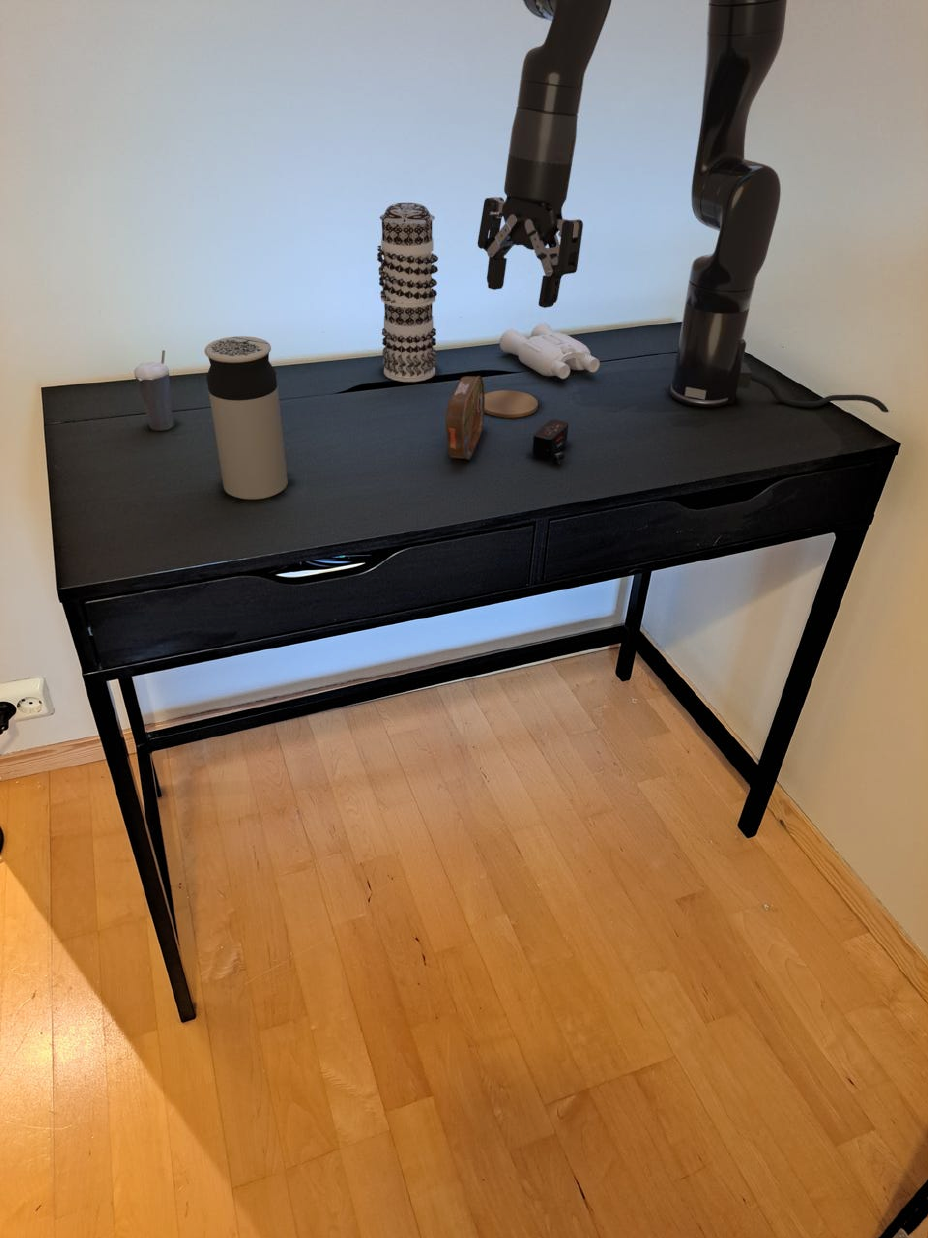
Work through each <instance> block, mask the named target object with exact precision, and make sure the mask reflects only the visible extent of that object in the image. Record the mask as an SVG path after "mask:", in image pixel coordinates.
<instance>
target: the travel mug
mask: <svg viewBox="0 0 928 1238" xmlns="http://www.w3.org/2000/svg"><path fill="white" fill-rule="evenodd" d="M203 350H204V351H203V352H204V355H205V356H206V357H207V358H208V361H209V368H208V371H207V374H206V377H205V378H206V384H207V390H208V397H209V402H210V408H211V415H212V422H213V429H214V433H215V434H214V435H215V440H216V447H217V453H218V459H219V465H220V472H221V478H222V485H223V490H224V491H225V493H226V494H228V495H229V496H232V497H234V498H237V499H241V500H262V499H263V500H264V499H268V498H270V497H273V496H275V495H277V494H279V493H281V492H282V491H284V490H285V489H286V488H287V487H288V483H289V478H288V471H287V462H286V452H285V451H286V450H285V443H284V442H285V441H284V433H283V426H282V425H283V424H282V417H281V416H282V415H281V406H280V399H279V398H280V397H279V389H278V380H277V372H276V370H275V368H274V367H273V365H272V364H271V362H270V361H269V359H270V353H271V351H272V345H271V344H270V343H269V341H267V340H265V339H262V338H260V337H255V336H246V335H245V336H244V335H239V336H228V337H222V338H219V339H216V340H213V341H211V342H210V343H208V344H207V345H206V346H205V347H204V349H203Z"/></svg>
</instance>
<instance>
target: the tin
mask: <svg viewBox="0 0 928 1238" xmlns="http://www.w3.org/2000/svg"><path fill="white" fill-rule="evenodd" d="M484 394H485V385H484V380H483V377H482V376H481V375H477V376H468V375H467V376H462V377H461V378H460V379H459V380H458V383H457V384H456V386H455V388H454V390H453V392H452V395H450V396H451V397H450V398H449V400H448V403H447V407H446V412H445V413H446V414H445V431H446V441H447V442H446V444H447V447H446V451H447V455H448V456H449V458H451V459H462V460H467V461H469V460H471V458H472V456H473V454H474V452H475V450H476V447H477V444H478V442H479V441H480V437H481V434H482V432H483V427H484V421H485V412H484V408H485V396H484Z"/></svg>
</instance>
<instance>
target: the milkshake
mask: <svg viewBox="0 0 928 1238" xmlns="http://www.w3.org/2000/svg"><path fill="white" fill-rule="evenodd" d="M165 355H166V350H162V351H161V360H160V361H161V362H155V361H150V362H141V363H140V364H138V366H136V367H135V369H134V370H133V374H134V378H135V381H136V384H137V387H138V390H139V394H140V397H141V400H142V405H143V407H144V411H145V414H146V418H147V422H148V425H149V429H151V430H153V431H157V432H162V431H168V430H170V429H172V428H174V422H175V421H174V413H173V405H172V404H173V403H172V395H171V382H170V369H169V367H168V366H167V365H166V364H165V357H166V356H165Z"/></svg>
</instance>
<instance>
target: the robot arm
mask: <svg viewBox="0 0 928 1238" xmlns="http://www.w3.org/2000/svg"><path fill="white" fill-rule="evenodd" d="M612 1H613V0H522V2H523V5H524V6H525V8H526V9H527V11H528V12H529V13H531V14H532V15H533V16H535V17H536V18H539V19H540V20H544V21H551V23H550V26H549V29H548V32H547V35H546V38H545V40H544V42H543V44H542V45H539V46H535V47H532V48H531V49H529V50H528V52H526V53H525V56H524V59H523V63H522V67H521V74H520V80H519V89H518V96H517V102H516V105H517V106H516V109H515V115H514V119H513V123H512V126H511V132H510V139H509V140H510V141H509V148H508V156H507V161H506V169H505V178H504V186H503V187H504V188H503V192H504V195H506V198H505V199H504V198H503V197H500V196H499V197H493V196H492V197H486V198H485V199H484V201H483V207H482V213H481V221H480V224H479V225H480V226H479V230H478V231H479V232H478V238H477V247H478V248H479V249H481V250H482V249H483V250H484V251H485V252H486V254H487V256H488V267H487V274H486V281H487V282H486V283H487V288H488V289H490V290H493V291H496V290H501V289H502V288H503V287H504V283H505V275H506V268H507V260H508V258H506V257H505V256H506V255H507V254H508V253H509V252H510V250H511V249H512V248H513V247H514V246H523V247H524V248H526V249H527V250H531V251H534V254H535V256H536V258H537V259H538V260H539V261H540V264H541V266H542V269H543V272H544V275H542V279H541V285H540V291H539V298H538V306H539V307H540V308H543V309H547V308H551V307H553V306H554V305H555V304H556V302H557V301H558V297H559V293H560V292H559V291H560V287H561V280H562V277H563V276H565V275H571V274H576V272H577V271H578V267H579V259H580V251H581V244H582V235H583V229H584V223H583V221H582V220H581V219H566V218H563V211H562V209H563V206H564V204H565V202H566V201H567V198H568V192H569V185H570V179H571V173H572V167H573V162H574V156H575V149H576V143H577V138H578V137H577V136H578V119H579V112H580V106H581V100H582V93H583V87H584V80H585V74H586V71H587V68H588V66H589V64H590V62H591V59H592V57H593V55H594V52H595V50H596V47H597V44H598V42H599V39H600V37H601V34H602V31H603V28H604V26H605V23H606V20H607V17H608V15H609V12H610V10H611V9H610V8H611V6H612ZM787 2H788V0H708V4H707V22H706V53H705V54H706V55H705V69H704V80H703V81H704V82H703V93H702V108H701V118H700V126H699V133H698V140H697V145H696V146H697V147H696V154H695V160H694V166H693V173H692V179H691V180H692V181H691V191H690V198H691V199H690V202H691V208H692V213H693V214H694V216H695V218H696V219H697V221H698V222H700V223H701V224H702V225H704V226H706V227H708V228H710V229H713V230H715V231H719V232H718V236H717V241H716V243H715V244H716V245H715V248H714V250H713V252H712V253H709V254H703V255H700V256H697V257H696V258H695V259H694V260H693V261H692V263H691V266H690V272H689V278H688V284H687V289H686V290H687V291H686V297H685V303H684V309H683V315H682V322H681V327H680V333H679V339H678V346H677V350H676V351H677V352H676V355H675V356H676V357H675V364H674V370H673V375H672V380H671V384H670V388H669V389H670V390H669V394H670V396H671V397H672V398H673V399H674V400H676V401H678V402H680V403H682V404H685V405H687V406H693V407H700V408H716V407H722V406H725V405H734V404H735V401H736V400H735V399H736V395H737V390H738V388H739V389H741V388H742V389H749V387H750V384H751V381H752V382H755V383H757V384H759V385H762V386H763V387H765V388H767V389H768V390H769V391H770V393H771V394H772V395H773V397H774V398H775V399H776V400H777V401H778V402H780V403H782V404H785V405H787V406H792V407H799V408H817V407H820V406H823V405H825V404H828V403H830V402H834V401H835V402H836V401H837V402H839V401H840V402H843V401H847V402H848V401H856V402H857V401H859V402H866V403H869V404H872V405H874V406H876V407H877V408H878V409H879V410H880V411H881V412H882V413H889V412H890V410H889V409H888V407H887V406H886V405H885V404H884V403H883V402H882V401H880V400H879V399H877V398H875V397H873V396H869V395H865V394H832V395H827V396H825V397H823V398H821V399H818V400H795V399H790V398H788V397H785V396H783V395H782V394H780V392H779V390H778V388H777V387H776V386H775V385H774V384H773V383H772V382H771V381H769V380H767V379H765V378H763V377H761V376H758V375H755V374H754V373H753V372H752V370H751V369H750V367H749V365H748V363H747V362H744V358H745V357H744V356H745V352H746V348H747V342H746V340H745V339H744V336H745V331H746V326H747V324H748V323H747V322H748V317H749V313H750V307H751V304H752V298H753V294H754V289H755V283H756V279H757V276H758V274H759V273H760V271H761V269H762V267H763V265H764V264H765V261H766V258H767V255H768V251H769V248H770V243H771V239H772V237H773V232H774V228H775V225H776V220H777V217H778V213H779V209H780V203H781V196H782V195H781V194H782V192H781V191H782V190H781V189H782V188H781V187H782V186H781V181H780V177H779V175H778V173H777V171H776V170H775V169H774V168H773V167H771V166H770V165H767V164H764V163H761V162H758V161H753V160H750V159H746V158H745V145H746V144H745V143H746V134H747V123H748V119H749V115H750V111H751V108H752V105H753V102H754V100H755V98H756V96H757V94H758V93H759V91H760V89H761V87H762V85H763V83H764V81H765V79H766V78H767V76H768V74H769V73H770V71H771V69H772V67H773V64H774V62H775V61H776V58H777V56H778V54H779V51H780V48H781V46H782V42H783V38H784V37H783V36H784V33H785V32H784V31H785V30H784V29H785V22H786V21H785V20H786V12H787V11H786V10H787V4H788V3H787ZM502 218H503V221H504V224H503V226H502V225H501V224H502ZM501 226H502V227H501ZM557 234H558V236H557ZM558 237H560V240H559V239H558ZM547 246H548V247H547Z"/></svg>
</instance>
